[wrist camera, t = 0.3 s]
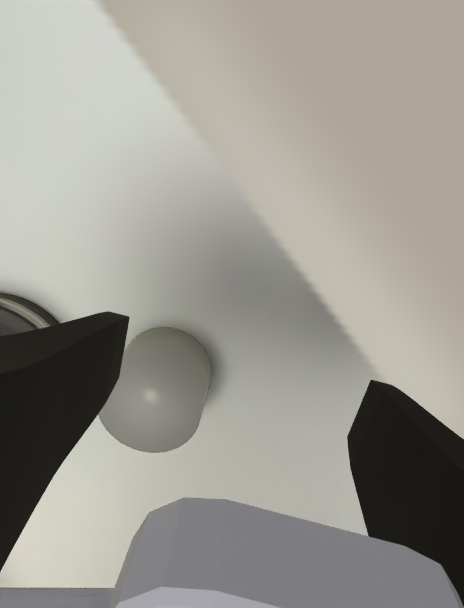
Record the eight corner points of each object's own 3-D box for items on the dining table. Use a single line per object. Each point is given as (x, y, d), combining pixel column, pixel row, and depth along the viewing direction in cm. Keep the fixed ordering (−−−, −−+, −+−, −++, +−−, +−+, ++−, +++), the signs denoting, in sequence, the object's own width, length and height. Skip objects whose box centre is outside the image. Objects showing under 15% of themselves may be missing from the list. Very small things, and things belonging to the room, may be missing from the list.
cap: (201, 415, 24) (189, 463, 20) (118, 394, 24) (90, 438, 20) (220, 339, 22) (210, 376, 18) (130, 317, 22) (102, 349, 18)
